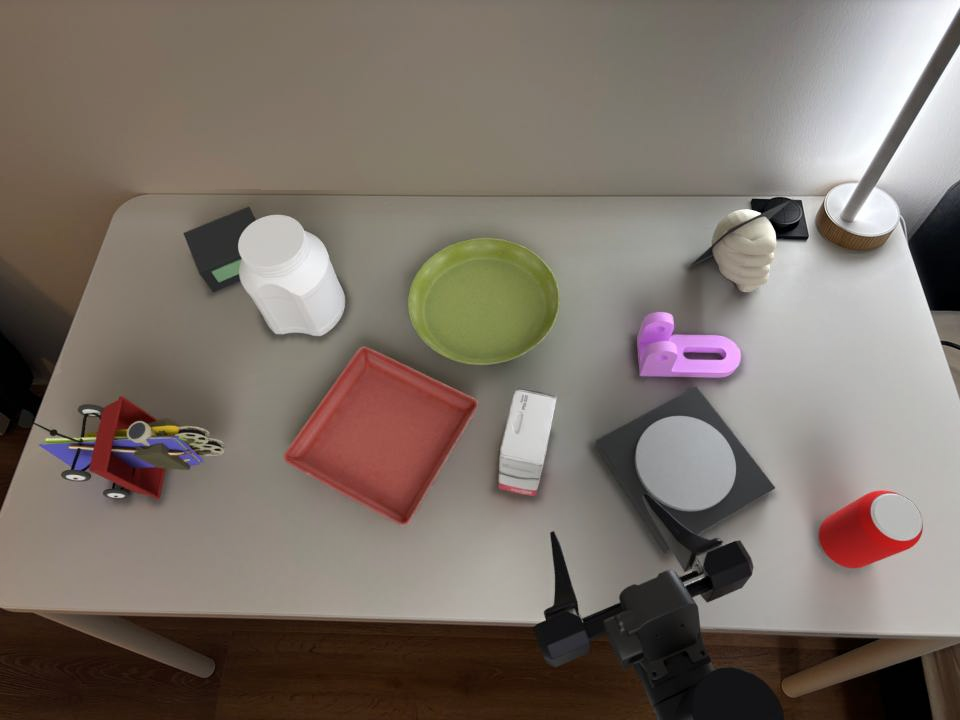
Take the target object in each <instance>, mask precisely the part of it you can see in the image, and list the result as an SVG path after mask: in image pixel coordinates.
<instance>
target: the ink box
mask: <svg viewBox="0 0 960 720" xmlns="http://www.w3.org/2000/svg"><path fill="white" fill-rule="evenodd" d="M556 403H557V396H556V395H553V394H551V393H547V392H544V391H540V390H536V389H530V388H523V387H517V388H516V389H515V390H514V392H513V395H512V400H511V403H510V407H509V411H508V416H507V420H506V423H505V429H504V432H503V436H502V441H501V445H500V448H499V451H500V452H499V460H498V461H499V462H498V481H497V482H498V483H497V488H498V489H499V490H503V491H507V492H510V493H515V494H519V495H525V496H532V497H535V496H536V495H537V493H538V488H539V485H540V480H541V478H542V477H541V476H542V472H543V468H544V464H545V459H546V455H547V449H548V445H549V440H550V435H551V430H552V424H553V419H554V413H555V407H556Z"/></svg>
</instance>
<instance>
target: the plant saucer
mask: <svg viewBox="0 0 960 720" xmlns="http://www.w3.org/2000/svg"><path fill="white" fill-rule="evenodd" d="M478 408H479V400H478V399H477V398H475V397H473V396H470V395H468V394H467V393H464V392H462V391H460V390H459V389H456V388H454V387H451V386H449V385H448V384H445V383H443V382H441V381H439V380H437V379H435V378H432V376H431V377H430V376H428V375H427V374H425V373H423V372H420V371H419V370H416V369H414V368H412V367H411V366H409V365H406V364H404V363H402V362H400V361H398V360H395V359H394V358H391V357H389V356H387V355H385V354H384V353H381V352H379V351H378V350H375V349H372V348H371V347H368V346H361V347H359V348H358V349H357V350H356V352H355V353H354V354H353V356H352V357H351V358H350V360H349V362H348V363H347V365H346V366H345V368H344V369H343V370H342V372H341V373H340V374H339V376H338V377H337V379H336V380H335V381H334V383H333V384H332V386H331V387H330V388H329V390H328V391H327V393H326V394H325V396H324V397H323V398H322V400H321V401H320V402H319V404H318V405H317V406H316V408H315V409H314V411H313V412H312V414H311V415H310V416H309V417H308V419H307V421H306V422H305V423H304V425H303V426H302V428H300V430H299V432H298V433H297V434H296V436H295V437H294V439H293V440H292V441H291V442H290V444H289V446H288V447H287V448H286V450H285V451H284V453H283V455H282V460H283V461H284V462H285V463H286V464H288V465H289V466H292V467H293V468H295V469H297V470H299V471H300V472H302V473H304V474H306V475H307V476H309V477H311V478H313V479H315V480H316V481H318V482H320V483H322V484H323V485H325V486H328V488H331V489H333V490H335V491H336V492H338V493H340V494H342V495H344V496H346V497H347V498H349V499H351V500H353V501H355V502H356V503H359V504H360V505H362V506H364V507H365V508H367V509H369V510H372V511H373V512H375V513H376V514H379V515H380V516H382V517H384V518H385V519H387V520H388V521H391V522H393V523H395V524H396V525H398V526H401V527H406V526H408V525H410V523H411V521H412V520H413V518H414V516H415V515H416V513H417V511H418V510H419V508H420V506H421V504H422V503H423V502H424V500H425V497H426V496H427V495H428V492H429V491H430V489H431V487H432V485H434V483H435V481H436V479H437V478H438V475H439V474H440V472H441V471H442V469H443V467H444V466H445V464H446V462H447V460H448V459H449V457H450V455H451V454H452V452H453V450H454V449H455V447H456V445H457V443H458V442H459V440H460V438H461V437H462V435H463V434H464V432H465V430H466V429H467V426H468V425H469V423H470V422H471V420H472V418H473V417H474V415H475V413H476V412H477V410H478Z"/></svg>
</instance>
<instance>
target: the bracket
mask: <svg viewBox="0 0 960 720" xmlns="http://www.w3.org/2000/svg"><path fill="white" fill-rule="evenodd" d="M639 328H640V329H639V331H638V333H637V337H636V348H637V359H638V360H637V361H638V362H637V363H638V374H639V377H663V378H665V377H666V378H669V377H670V378H674V377H675V378H717V379H719V378H720V379H721V378H726V377H728V376H730V375H732V374H733V373H734V372H735V371H736V370H737V368H738V367H739V365H740V363H741V360H742V354H741V353H742V352H741V350H740V348H739V346H738V345H737V343H735V342H734V341H733V340H732V339H730V338H729V337H726V336H723V335H718V334H717V335H715V334H673V332H674V330H675V323H674V316H673V315H672V314H671V313H669V312H665V311H656V312H651V313H649V314H647V315H646V316H645V317H643V319H642V323H641V325H640V327H639ZM684 353H708V354H709V353H712V354H713V353H714V354H715V353H716V354H719V355H720V356H721V357H722V359H690V358H687V357H686V356H685V355H684Z"/></svg>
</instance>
